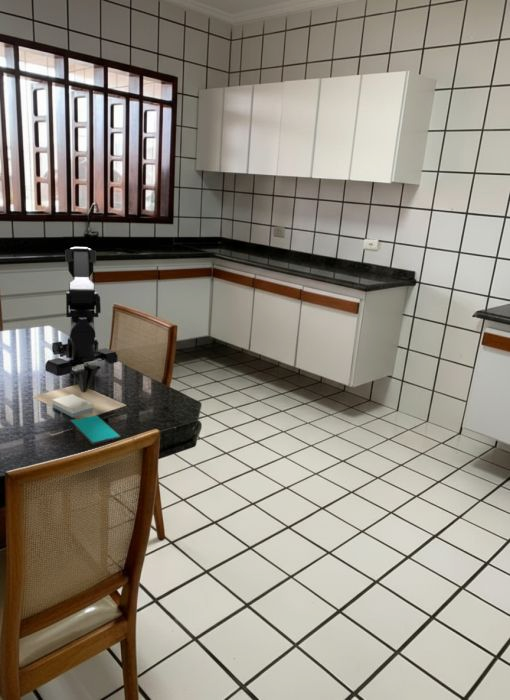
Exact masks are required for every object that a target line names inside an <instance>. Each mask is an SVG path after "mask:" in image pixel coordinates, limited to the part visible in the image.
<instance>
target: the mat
mask: <svg viewBox="0 0 510 700" xmlns="http://www.w3.org/2000/svg"><path fill="white" fill-rule="evenodd" d="M71 394H73V395H75V396H77V397H79V398H82V399H84V400H86V401H88V402H90V403H92V404H93V411H92V412H88V413H85V414H82V415H79V416H76V417H72V418H73V419H78V420H80V418H85V417H90V416H95V415H98V416H99V415H102V414H104V413H108V412H111V411H114V410H118V409H120V408H124V407H127V404H125V403H123V402H121V401H118V400H116V399H113V398H111V397H109V396H106V395H105V394H102V393H100V392H99V391H98V392H97V391H96V390H93V389H90V388H88V389H87V391H86V392H84V393H83V392H81V390H80V388H79V385H78V383H77V384H74V385H70V386H66V387H62V388H59V389H55V390H51V391H47V392H43V393H41V394H37V395H32V396H31V397H32V398H34V399H35V400H37V401H40V402H42V403H43V404H46V405H48V406H49V407H51V408H53V403H52V400H53V399H57V398H60V397H64V396H67V395H71Z"/></svg>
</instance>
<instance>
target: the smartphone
mask: <svg viewBox="0 0 510 700" xmlns="http://www.w3.org/2000/svg"><path fill="white" fill-rule="evenodd" d="M69 422H71V424H72V425H73V427H74V428H75V429H76V430H77V431H78V432H79V434H81V435H82V436H83V438H85V440H86V441H87V442H89V443H90V444H91V445H94V446H95V445H97V444H102V443H105V442H110V441H114V440H118V439H119V440H120V439H122V436H121V434H120V433H118V432H117V431H116V430H115V429H114V428H112V427H111V425H109V424H108V423H107V422H106V421H105V420H103V418H101V416H99V415H95V416H90V417H85V418H80V420H78V419H75V418H73V419H69Z"/></svg>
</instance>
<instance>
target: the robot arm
mask: <svg viewBox="0 0 510 700" xmlns="http://www.w3.org/2000/svg"><path fill="white" fill-rule="evenodd" d="M64 252H65V264H66V265H67V266H68V267H67V268H68V269H67V270H68V272H69V274H70V276H71V277H72V278H73V280H72V281H71V282H69V283H68V291H65V292H66V295H65V300H66V301H65V302H66V305H65V306H66V307H65V308H66V311H65V313H66V318H70V331H69V337H67V343H64V344H63V343H62V342H63V341H56V342H52V345H51V350H52V354H53V355H59V357H57V358H54V359H53V358H52V359H49V360H46V362H45V365H44V366H45V367H44V368H45V369H44V370H45V372H47V373H49V374H52V375H53V376H56V377H59V376H60V377H61V376H65V375H70V374H71V375H73V376H74V378H75V380H76V383H77V384H78V385H79V388H80V390H81V392H83V393H84V392H86V391H87V389H89V386H90V385H91V383H92V381H93V379H94V377H95V376H96V374H98V373H97V372H98V371H99V370H101V367H102V366H101V365H100V366H99V365H98V362H101V361H106V362H107V363H108V364H109V365H111V364H114V363H115V364H116V363H118V362H119V355H118V353H117V352H116V351H115V350H111V349H109V348H107V347H106V348H100V349H99V342H98V339H97V338H96V330H95V329H96V328H95V318H99V314H101V296H100V295H99V292H98V291H96V290H95V289H96V288H95V283H94V282H92V280H90V277H91V275H92V274H93V273H94V266H95V265H96V264H97V251H96V250H94V249H92V248H89V247H88V246H73V247H70V248H67V249H65V251H64ZM96 266H97V265H96ZM64 356H65V358H67V359H69V360H65V358H64V359H63V358H62V357H64Z"/></svg>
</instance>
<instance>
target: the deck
mask: <svg viewBox="0 0 510 700" xmlns="http://www.w3.org/2000/svg"><path fill="white" fill-rule="evenodd" d="M52 403H53V407H52V408H53V409H55V410H56V411H59V412H61V413H63V414H65V415H67V416H69V417H71V418H73V417H76V416H79V415H82V414H85V413H88V412H92V411H93V404H92V403H90V402H88V401H86V400H84V399H82V398H79V397H77V396H75V395H73V394H71V395H67V396H64V397H60V398H57V399H53V400H52Z"/></svg>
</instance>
